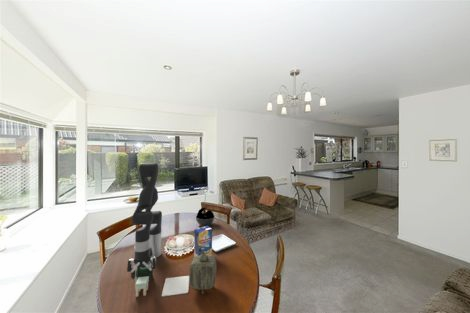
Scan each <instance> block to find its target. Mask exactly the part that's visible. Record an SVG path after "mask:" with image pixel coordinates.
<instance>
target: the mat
mask: <svg viewBox="0 0 470 313" xmlns="http://www.w3.org/2000/svg"><path fill="white" fill-rule="evenodd" d="M189 287H190V282H189V275H184V276H175V277H166V278H165V282H164V284H163V289H162V292H161V297H163V298H164V297H168V296H170V297H171V296H176V295H183V294H189Z"/></svg>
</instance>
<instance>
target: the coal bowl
mask: <svg viewBox="0 0 470 313" xmlns="http://www.w3.org/2000/svg"><path fill="white" fill-rule="evenodd" d="M206 209H207V207H202V208H200V209H198V212H197V214H196V216H195V221H196V223H197V224H198V225H200V226H201V227H205V226H210V225H211V224H213V222H214V221H215V216H216V215H214V212H213V211H212V210H210V209H207V210H206ZM205 210H206V211H205ZM204 211H205V212H204Z"/></svg>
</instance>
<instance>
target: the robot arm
mask: <svg viewBox="0 0 470 313" xmlns="http://www.w3.org/2000/svg"><path fill="white" fill-rule="evenodd" d="M138 172H139V178H140V181H141V182H140V183H141V186H142V190H141V191H140V194H139V198H138V202H137V205H136V208H135V210H134V212H133V214H132V215H131V223H132V225H134V226H142V227H140V228H138V229H136V230H135V233H134V234H135V236H134V238H135V239H134V240H135V241H134V258H132V257H131V258H129V259H128V260H127V269H126V271H127V273H129V272H130V278H131V279H132V280H135V276H136V268H137V267H145V266H146V267H147V268H148V269H149V270H150V271H149V277H151V276H152V274H153V275H154V271H153V270H155V269H156V268H157V258H159V257H160V256H161V255H162V219H163V214H162V213H163V212H162V211H161V210H156V211H155V210H153V211H152V209H153V207H154V206H155V205H156V204H157V202H158V200H159V193H158V189H157V188H156V183H157V180H158V176H159V164H158V162H141V163H140V164H139V168H138ZM149 178H150V180H149ZM143 225H145V226H143ZM152 225H154V226H152ZM150 247H151V248H152V252H153V256H152V257H150ZM150 260H151V261H152V265H151V263H150V262H149V261H150ZM133 263H134V264H135V265H134V266H133V267H132V265H133Z"/></svg>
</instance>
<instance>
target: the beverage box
mask: <svg viewBox="0 0 470 313" xmlns="http://www.w3.org/2000/svg"><path fill="white" fill-rule="evenodd" d="M212 237H213V228H212V227H210V225H208V226H201V227H198V228H195V229H194V242H193V243H194V244H193V245H194V250H193V251H194V253H193V254H194V256H193V258H194V257H195V256H199V255H201V254H200V253H203V251H204V253H206V252H209V253H207V254H206V255H210V256H213V254H212V253H213V249H212ZM199 247H208V248H209V249H210V251H209V250H208V249H207V248H200V249H199V250H198V248H199ZM197 250H198V252H200V253H198V252H197Z"/></svg>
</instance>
